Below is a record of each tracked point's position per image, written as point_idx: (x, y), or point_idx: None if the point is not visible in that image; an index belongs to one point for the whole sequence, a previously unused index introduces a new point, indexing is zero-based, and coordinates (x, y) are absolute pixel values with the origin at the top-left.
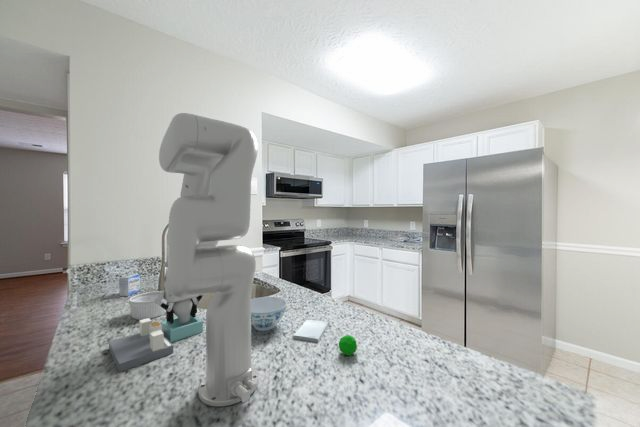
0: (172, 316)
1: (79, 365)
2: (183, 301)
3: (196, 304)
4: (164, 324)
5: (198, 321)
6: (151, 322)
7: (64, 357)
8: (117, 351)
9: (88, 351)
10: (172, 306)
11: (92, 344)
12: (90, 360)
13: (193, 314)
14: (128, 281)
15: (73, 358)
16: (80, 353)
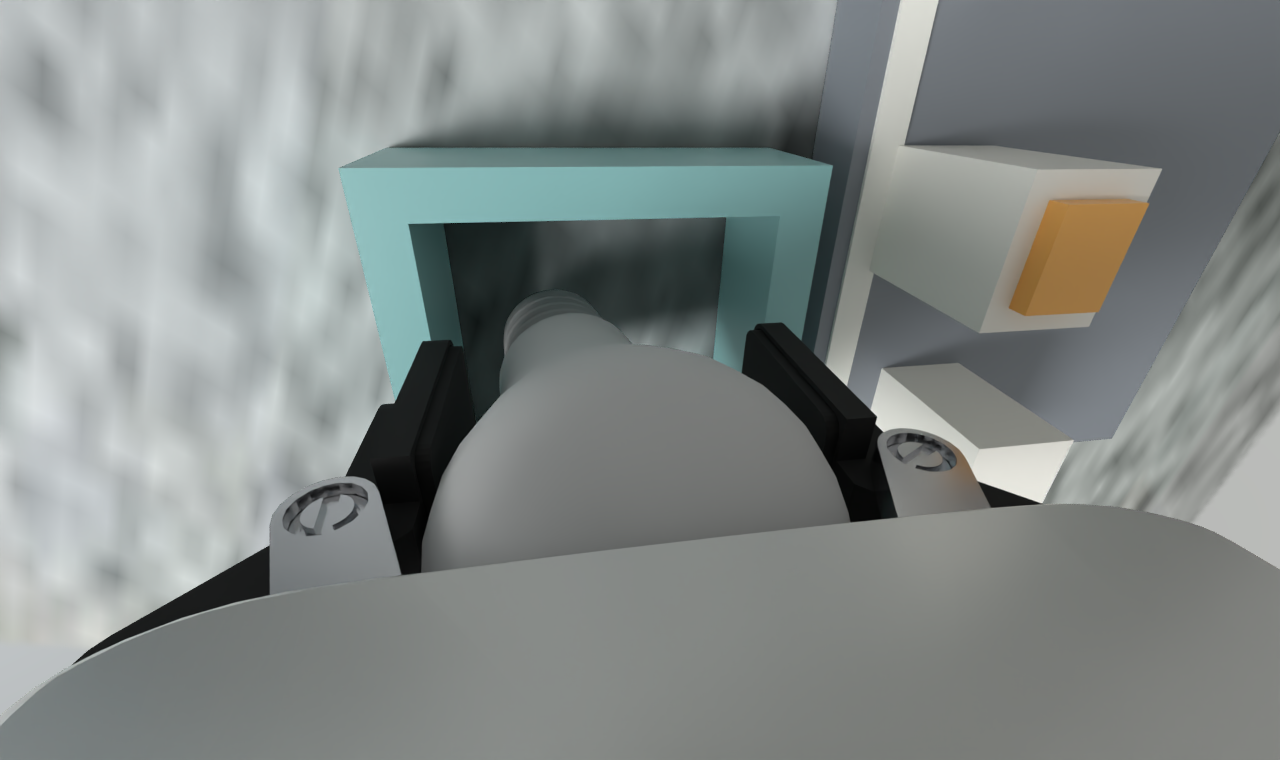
0: (808, 365)
1: (1276, 275)
2: (709, 523)
3: (340, 480)
4: None
5: (408, 210)
6: (962, 436)
7: (1213, 448)
8: (1229, 184)
9: (1128, 444)
10: (895, 492)
11: None
12: (1212, 302)
13: (451, 363)
14: None
15: (1213, 404)
16: (1158, 445)
